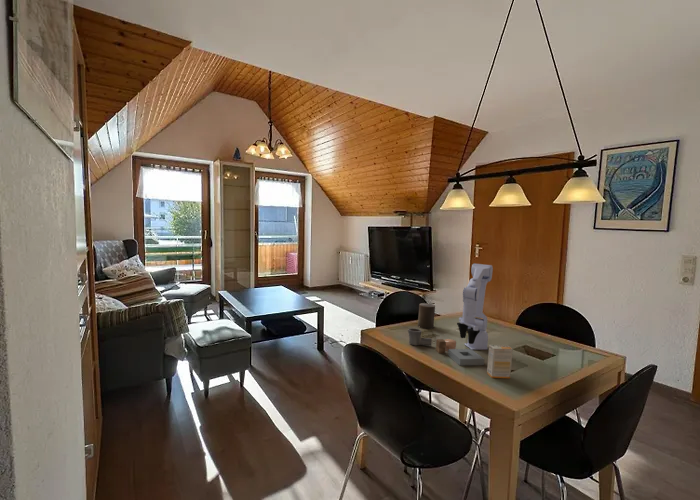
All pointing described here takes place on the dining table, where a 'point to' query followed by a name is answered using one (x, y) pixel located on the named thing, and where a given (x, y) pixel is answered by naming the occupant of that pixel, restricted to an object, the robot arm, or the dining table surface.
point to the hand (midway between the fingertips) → (466, 340)
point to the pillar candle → (426, 315)
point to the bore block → (465, 357)
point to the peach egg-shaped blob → (450, 344)
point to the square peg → (440, 346)
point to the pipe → (418, 338)
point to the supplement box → (499, 361)
